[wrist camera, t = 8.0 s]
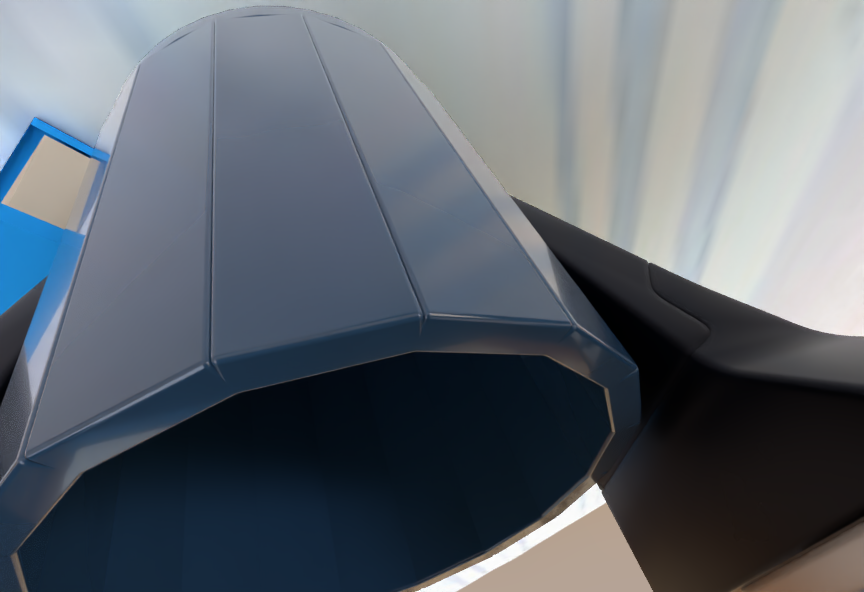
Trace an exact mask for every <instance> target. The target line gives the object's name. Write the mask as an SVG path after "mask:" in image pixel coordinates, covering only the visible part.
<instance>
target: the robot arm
mask: <svg viewBox="0 0 864 592" xmlns="http://www.w3.org/2000/svg"><path fill="white" fill-rule="evenodd" d="M510 197H511V198H512V199H513V201H514V202H515V203H516V205H517V206H518V207H519V209H520V210H521V211H522V213H523V214H524V215H525V217H526V218H527V219H528V221H529V222H530V223H531V225H532V226H533V227H534V229H535V230H536V231H537V233H538V234H539V235H540V237H541V238H542V239H543V241H544V242H545V243H546V245H547V246H548V247H549V249H550V250H551V251H552V253H553V254H554V255H555V257H556V258H557V259H558V261H559V262H560V263H561V265H562V266H563V267H564V269H565V270H566V271H567V273H568V274H569V275H570V277H571V278H572V279H573V281H574V282H575V283H576V284H577V286H578V287H579V288H580V290H581V291H582V292H583V294H584V295H585V296H586V298H587V299H588V300H589V302H590V303H591V304H592V306H593V307H594V308H595V310H596V311H597V312H598V314H599V315H600V316H601V318H602V319H603V320H604V322H605V323H606V324H607V326H608V327H609V328H610V330H611V331H612V332H613V334H614V335H615V336H616V338H617V339H618V340H619V342H620V343H621V344H622V346H623V347H624V348H625V350H626V351H627V352H628V354H629V355H630V356H631V358H632V359H633V360H634V362H635V363H636V365H637V367H638V369H639V381H640V398H641V415H642V419H641V423H640V424H639V426H638V428H637V429H636V431H635V432H634V434H633V435H632V437H631V438H630V440H629V442H628V443H627V445H626V446H625V448H624V449H623V451H622V453H621V454H620V456H619V457H618V459H617V460H616V462H615V463H614V465H613V467H612V468H611V470H610V471H608V473H607V474H606V475H605V476H603V477H602V478H601V479H600V480H599V481H598V482H597V484H598V486H599V488H600V490H602V495H603V497H604V498H605V500H606V502H607V504H608V506H609V508H610V510H611V512H612V514H613V516H614V517H615V519H616V521H617V523H618V525H619V527H620V529H621V531H622V533H623V535H624V537H625V538H626V540H627V542H628V544H629V546H630V548H631V550H632V552H633V554H634V556H635V558H636V559H637V561H638V563H639V565H640V567H641V569H642V571H643V573H644V575H645V577H646V578H647V580H648V582H649V584H650V586H651V588H652V590H653V592H864V337H859V336H843V335H835V334H829V333H824V332H820V331H816V330H812V329H808V328H806V327H803V326H800V325H797V324H795V323H792V322H790V321H787V320H785V319H782V318H780V317H777V316H775V315H772V314H770V313H767V312H765V311H762V310H760V309H757V308H755V307H752V306H750V305H747V304H745V303H742V302H740V301H737V300H735V299H732V298H730V297H727V296H725V295H722V294H720V293H717V292H715V291H713V290H710V289H708V288H705V287H703V286H700V285H698V284H696V283H693V282H691V281H689V280H687V279H685V278H682V277H680V276H678V275H676V274H674V273H672V272H669V271H667V270H665V269H663V268H661V267H659V266H657V265H655V264H653V263H648V262H647V261H646V260H644V259H642V258H640V257H638V256H636V255H634V254H632V253H630V252H628V251H625V250H623V249H621V248H619V247H617V246H615V245H613V244H611V243H609V242H607V241H605V240H602V239H600V238H598V237H596V236H594V235H592V234H590V233H588V232H586V231H584V230H582V229H579V228H577V227H575V226H573V225H571V224H569V223H567V222H565V221H563V220H561V219H559V218H557V217H554V216H552V215H550V214H548V213H546V212H544V211H542V210H540V209H538V208H536V207H534V206H531V205H529V204H527V203H525V202H523V201H521V200H519V199H517V198H515V197H513V196H511V195H510ZM47 277H48V276H46V277H45V278H44V279H43V280H42V281H40V282H39V283H38V284H37V285H36V286H35V287H33V288H32V289H31V290H30V291H29V292H28V293H26V294H25V295H24V296H23V297H22V298H20V299H19V300H18V301H17V302H16V303H15V304H13V305H12V306H11V307H10V308H9V309H8V310H6V311H5V312H4V313H3V314H2V315H0V407H1V404H2V401H3V398H4V396H5V393H6V390H7V387H8V385H9V382H10V379H11V376H12V374H13V371H14V368H15V365H16V363H17V360H18V357H19V354H20V352H21V349H22V346H23V343H24V340H25V338H26V335H27V332H28V329H29V327H30V324H31V321H32V318H33V316H34V313H35V310H36V307H37V305H38V302H39V299H40V296H41V294H42V291H43V288H44V285H45V283H46V280H47Z"/></svg>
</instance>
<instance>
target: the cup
mask: <svg viewBox="0 0 864 592" xmlns="http://www.w3.org/2000/svg"><path fill="white" fill-rule="evenodd" d="M641 419H642V415H641V398H640V381H639V369H638V367H637V365H636V363H635V362H634V360H633V359H632V358H631V356H630V355H629V354H628V352H627V351H626V350H625V348H624V347H623V346H622V344H621V343H620V342H619V340H618V339H617V338H616V336H615V335H614V334H613V332H612V331H611V330H610V328H609V327H608V326H607V324H606V323H605V322H604V320H603V319H602V318H601V316H600V315H599V314H598V312H597V311H596V310H595V308H594V307H593V306H592V304H591V303H590V302H589V300H588V299H587V298H586V296H585V295H584V294H583V292H582V291H581V290H580V288H579V287H578V286H577V284H576V283H575V282H574V281H573V279H572V278H571V277H570V275H569V274H568V273H567V271H566V270H565V269H564V267H563V266H562V265H561V263H560V262H559V261H558V259H557V258H556V257H555V255H554V254H553V253H552V251H551V250H550V249H549V247H548V246H547V245H546V243H545V242H544V241H543V239H542V238H541V237H540V235H539V234H538V233H537V231H536V230H535V229H534V227H533V226H532V225H531V223H530V222H529V221H528V219H527V218H526V217H525V215H524V214H523V213H522V211H521V210H520V209H519V207H518V206H517V205H516V203H515V202H514V201H513V199H512V198H511V197H510V195H509V194H508V193H507V191H506V190H505V189H504V187H503V186H502V185H501V183H500V182H499V181H498V179H497V178H496V177H495V175H494V174H493V173H492V171H491V170H490V169H489V167H488V166H487V165H486V163H485V162H484V161H483V159H482V158H481V157H480V155H479V154H478V153H477V152H476V150H475V149H474V148H473V146H472V145H471V144H470V142H469V141H468V140H467V138H466V137H465V136H464V134H463V133H462V132H461V130H460V129H459V128H458V126H457V125H456V124H455V122H454V121H453V120H452V118H451V117H450V116H449V114H448V113H447V112H446V110H445V109H444V108H443V106H442V105H441V104H440V102H439V101H438V100H437V98H436V97H435V96H434V94H433V93H432V92H431V90H430V89H429V88H428V87H427V86H426V85H425V84H424V83H423V82H422V81H421V80H420V79H418V78H417V77H416V75H415V74H414V73H413V71H412V70H411V69H410V68H409V67H408V66H407V65H406V64H405V63H404V61H403V60H402V59H401V58H400V57H399V56H398V55H397V54H395V53H394V52H393V51H392V50H391V49H390V48H388V47H387V46H386V45H385V44H384V43H382V42H381V41H380V40H378V39H376V38H375V37H373V36H372V35H370V34H369V33H367V32H365V31H364V30H362V29H361V28H358V27H356V26H354V25H352V24H350V23H347V22H345V21H343V20H341V19H339V18H336V17H333V16H329V15H326V14H323V13H319V12H316V11H312V10H306V9H300V8H293V7H286V6H253V7H246V8H239V9H232V10H227V11H224V12H220V13H217V14H213V15H210V16H207V17H203V18H201V19H199V20H197V21H195V22H193V23H191V24H188V25H186V26H184V27H182V28H180V29H178V30H177V31H175V32H174V33H172V34H171V35H169V36H168V37H167V38H165V39H164V40H162V41H161V42H159V43H158V44H157V45H156V46H155V47H154V48H153V49H152V50H151V51H149V52H148V53H147V54H146V55H145V56H144V57H143V58H142V59H141V60H140V61H139V62H138V64H137V65H136V67H135V68H134V69H133V71H132V72H131V74H130V75H129V76H128V78H127V79H126V81H125V82H124V84H123V86H122V89H121V91H120V93H119V95H118V97H117V99H116V101H115V104H114V106H113V108H112V110H111V112H110V113H109V115H108V117H107V119H106V120H105V122H104V124H103V125H102V128H101V131H100V134H99V136H98V139H97V142H96V145H95V147H94V150H93V153H92V156H91V158H90V161H89V164H88V167H87V170H86V172H85V175H84V178H83V181H82V183H81V186H80V189H79V192H78V194H77V197H76V200H75V203H74V205H73V208H72V211H71V214H70V216H69V219H68V222H67V225H66V227H65V230H64V233H63V236H62V238H61V241H60V244H59V247H58V249H57V252H56V255H55V258H54V261H53V263H52V266H51V269H50V272H49V274H48V277H47V280H46V283H45V285H44V288H43V291H42V294H41V296H40V299H39V302H38V305H37V307H36V310H35V313H34V316H33V318H32V321H31V324H30V327H29V329H28V332H27V335H26V338H25V340H24V343H23V346H22V349H21V352H20V354H19V357H18V360H17V363H16V365H15V368H14V371H13V374H12V376H11V379H10V382H9V385H8V387H7V390H6V393H5V396H4V398H3V401H2V404H1V407H0V592H415V591H418V590H420V589H421V588H426V587H428V586H430V585H432V584H434V583H436V582H438V581H441V580H443V579H445V578H447V577H449V576H451V575H453V574H456V573H458V572H460V571H462V570H464V569H466V568H468V567H471V566H473V565H475V564H477V563H479V562H481V561H483V560H486V559H488V558H490V557H492V556H493V554H497V553H499V552H501V551H502V550H504V549H506V548H507V547H509V546H510V545H512V544H514V543H515V542H517V541H519V540H520V539H522V538H523V537H525V536H527V535H528V534H530V533H531V532H533V531H535V530H536V529H538V528H540V527H541V526H543V525H544V524H546V523H548V522H549V521H551V520H553V519H554V518H556V516H558V515H560V514H561V513H562V512H563V511H564V510H565V509H567V508H568V507H569V506H570V505H571V504H572V503H573V502H575V501H576V500H577V499H578V498H579V497H580V496H582V495H583V494H584V493H585V492H586V491H587V490H588V489H590V488H591V487H592V486H593V485H594V484H595V483H597V482H598V481H599V480H600V479H601V478H602V477H603V476H605V475H606V474H607V473H608V471H610V470H611V468H612V467H613V465H614V463H615V462H616V460H617V459H618V457H619V456H620V454H621V453H622V451H623V449H624V448H625V446H626V445H627V443H628V442H629V440H630V438H631V437H632V435H633V434H634V432H635V431H636V429H637V428H638V426H639V424H640V423H641Z"/></svg>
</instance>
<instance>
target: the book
mask: <svg viewBox="0 0 864 592" xmlns="http://www.w3.org/2000/svg"><path fill="white" fill-rule="evenodd" d="M93 150H94V149H93V148H91V147H89V146H88V145H86V144H84V143H82V142H80V141H78V140H76V139H74V138H73V137H71V136H69V135H67V134H65V133H63V132H61V131H60V130H58V129H56V128H54V127H52V126H50V125H48V124H47V123H45V122H43V121H41V120H39V119H37V118H35V117H34V119H33V121H32V122H31V124H30V125H29V127H28V129H27V130H26V132H25V134H24V135H23V137H22V138H21V140H20V142H19V143H18V145H17V146H16V148H15V150H14V151H13V153H12V154H11V156H10V158H9V159H8V161H7V162H6V164H5V166H4V167H3V169H2V170H1V172H0V315H2V314H3V313H4V312H5V311H6V310H8V309H9V308H10V307H11V306H12V305H13V304H15V303H16V302H17V301H18V300H19V299H20V298H22V297H23V296H24V295H25V294H26V293H28V292H29V291H30V290H31V289H32V288H33V287H35V286H36V285H37V284H38V283H39V282H40V281H42V280H43V279H44V278H45V277H46V276H48V274H49V272H50V269H51V266H52V263H53V261H54V258H55V255H56V252H57V249H58V247H59V244H60V241H61V238H62V236H63V233H64V230H65V227H66V225H67V222H68V219H69V216H70V214H71V211H72V208H73V205H74V203H75V200H76V197H77V194H78V192H79V189H80V186H81V183H82V181H83V178H84V175H85V172H86V170H87V167H88V164H89V161H90V158H91V156H92V153H93Z"/></svg>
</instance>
